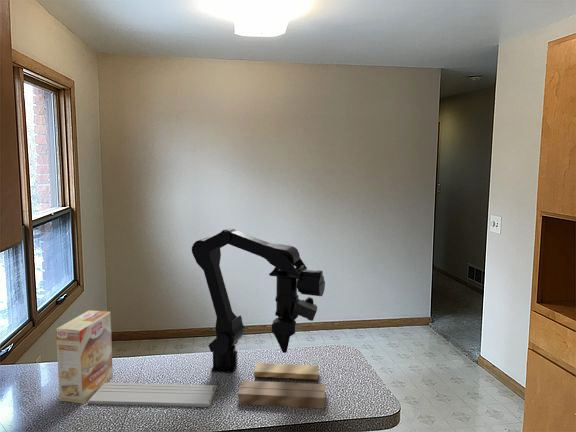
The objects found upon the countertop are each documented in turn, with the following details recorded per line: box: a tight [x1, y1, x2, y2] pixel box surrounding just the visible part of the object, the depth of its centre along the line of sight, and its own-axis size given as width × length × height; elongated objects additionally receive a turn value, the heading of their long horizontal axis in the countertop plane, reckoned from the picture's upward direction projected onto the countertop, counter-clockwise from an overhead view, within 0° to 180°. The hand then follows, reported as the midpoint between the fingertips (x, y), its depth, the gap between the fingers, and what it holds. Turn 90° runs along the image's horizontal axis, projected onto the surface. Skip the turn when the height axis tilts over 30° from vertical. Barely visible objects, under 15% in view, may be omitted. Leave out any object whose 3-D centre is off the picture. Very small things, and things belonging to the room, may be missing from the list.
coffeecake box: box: [55, 309, 114, 404], centre depth 125 cm, size 15×7×20 cm, turn 171°
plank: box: [253, 362, 319, 381], centre depth 134 cm, size 18×6×3 cm, turn 85°
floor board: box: [237, 380, 326, 409], centre depth 122 cm, size 22×8×3 cm, turn 85°
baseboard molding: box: [87, 381, 219, 408], centre depth 124 cm, size 31×3×12 cm
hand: (286, 345), depth 132 cm, fingers open, 9 cm apart
